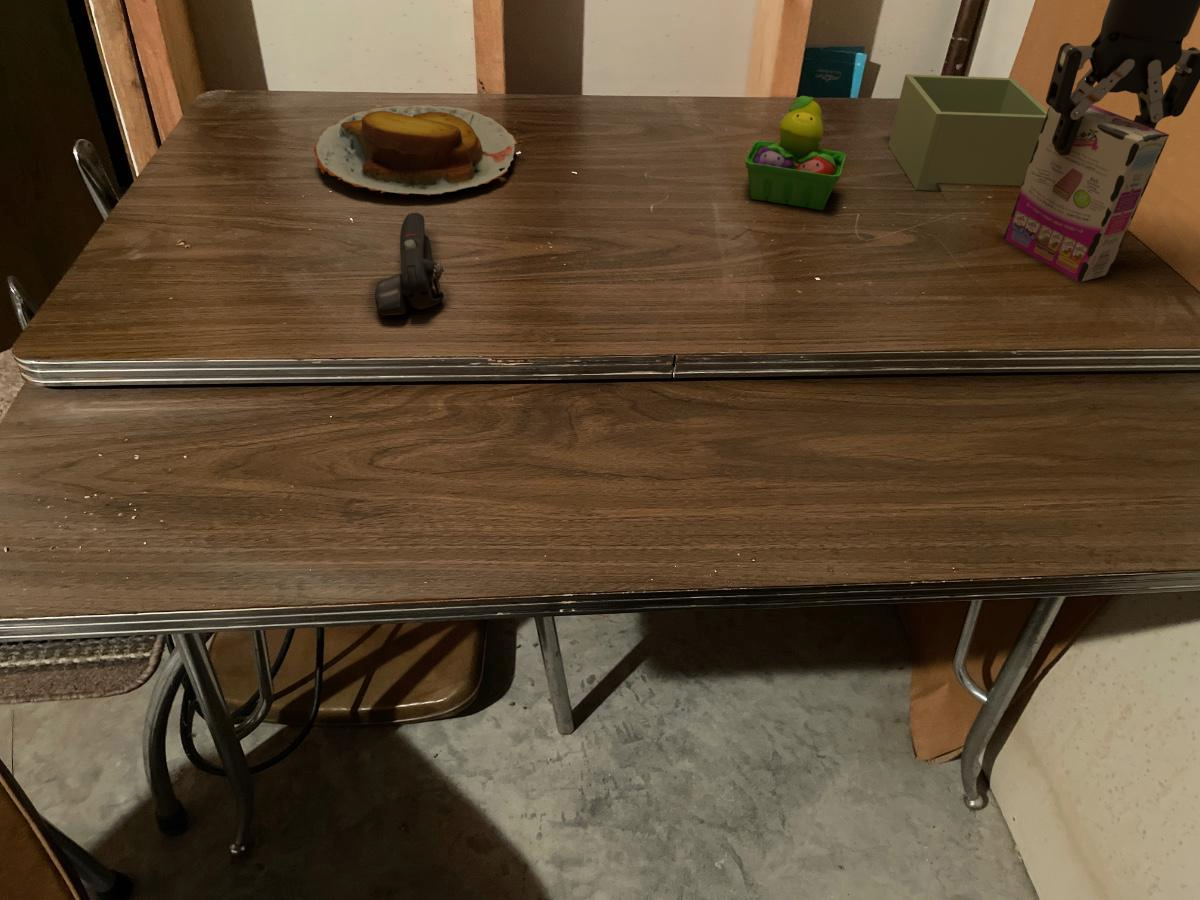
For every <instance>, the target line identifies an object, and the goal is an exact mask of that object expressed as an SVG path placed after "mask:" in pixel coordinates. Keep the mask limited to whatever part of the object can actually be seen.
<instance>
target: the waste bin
mask: <svg viewBox="0 0 1200 900" xmlns="http://www.w3.org/2000/svg"><path fill="white" fill-rule="evenodd" d="M898 100H899V101H898V104H897V108H896V112H895V117H894V119H893V120H894V121H893V124H892V128H891V132H890V137H889V141H888V145H887V147H888V149H889V150H890V152H891V153H892V155H893V156H894V158H895V159H896V161H897V162H898V164H899V166H900V167H901V169H902V170H903V172H904V173H905V175H906V176H907V179H908V180H909V181H910V183H911V184H912V186H913V188H914V190H915V191H931V192H932V191H934V192H943V190H942V188H941V186H940V185H939V184H956V185H957V184H959V185H985V186H987V185H989V186H1014V187H1015V186H1017V187H1022V184H1023V181H1024V178H1025V175H1026V172H1027V169H1028V167H1029V164H1030V161H1031V158H1032V155H1033V152H1034V149H1035V146H1036V144H1037V141H1038V138H1039V135H1040V132H1041V129H1042V126H1043V123H1044V120H1045V118H1046V114H1047V112H1048V109H1047V108H1046V107H1045V106H1044V105H1042V104H1041V103H1040V102H1039V100H1037V99H1036V98H1035V97H1034V96H1033V95H1032V94H1031V93H1030V92H1029V91H1028V90H1027V89H1026V88H1024V86H1022V85H1021V84H1020V83H1019V82H1018V81H1017V80H1016V79H1015V78H1013V77H993V76H992V77H990V76H988V77H987V76H985V77H984V76H966V75H965V76H963V75H962V76H961V75H935V74H907V73H906V74H905V75H904V79H903V83H902V87H901V92H900V95H899V99H898Z"/></svg>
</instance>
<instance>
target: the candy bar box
mask: <svg viewBox="0 0 1200 900" xmlns="http://www.w3.org/2000/svg"><path fill="white" fill-rule="evenodd" d="M1047 110H1048V112H1047V114H1046V118H1045V120H1044V123H1043V126H1042V129H1041V132H1040V135H1039V138H1038V141H1037V144H1036V146H1035V149H1034V152H1033V155H1032V158H1031V161H1030V164H1029V167H1028V169H1027V172H1026V175H1025V178H1024V181H1023V184H1022V186H1020V190H1019V193H1018V196H1017V199H1016V201H1015V204H1014V207H1013V210H1012V213H1011V216H1010V218H1009V221H1008V225H1007V227H1006V230H1005V233H1004V236H1003V240H1004V241H1006V242H1008V243H1009V244H1011V245H1013V246H1014V247H1017V248H1018V249H1020V250H1022V251H1023V252H1025V253H1027V254H1029V255H1030V256H1032V257H1034V258H1036V259H1038V260H1039V261H1041V262H1043V263H1045V264H1046V265H1048V266H1050V267H1052V268H1054V269H1055V270H1057V271H1060V272H1061V273H1062V274H1063V275H1066V276H1068V277H1070V278H1072V279H1074V280H1075V281H1077V282H1079V283H1083V282H1086V281H1090V280H1093V279H1097V278H1100V277H1104V276H1108V275H1109V274H1110V271H1111V269H1112V267H1113V265H1114V262H1115V260H1116V258H1117V255H1118V253H1119V251H1120V249H1121V247H1122V244H1123V242H1124V240H1125V237H1126V235H1127V233H1128V230H1129V228H1130V226H1131V224H1132V222H1133V218H1134V216H1135V215H1136V213H1137V209H1138V207H1139V204H1140V203H1141V201H1142V198H1143V196H1144V194H1145V191H1146V189H1147V187H1148V185H1149V182H1150V179H1151V177H1152V176H1153V172H1154V170H1155V169H1156V166H1157V164H1158V162H1159V159H1160V157H1161V154H1162V153H1163V150H1164V148H1165V146H1166V144H1167V142H1168V139H1169V137H1170V134H1169V133H1166V132H1164V131H1161V130H1158V129H1156V128H1155V129H1153V128H1151V127H1148V126H1146V125H1143V124H1141V123H1138V122H1136V121H1134V119H1130V118H1127V117H1125V116H1123V115H1119V114H1117V113H1114V112H1112V111H1109V110H1107V109H1104V108H1101V107H1098V106H1096V105H1094V104H1093V105H1092V106H1091V107H1090V108H1089V109H1088V110H1087V111H1086V112H1085V113H1084V114H1083V115H1082V116H1081V117H1080V118H1079V119H1080V120H1081V121H1082V122H1081V125H1080V127H1079V130H1078V133H1077V135H1076V138H1075V141H1074V143H1073V146H1072V149H1071V151H1070V154H1069V155H1068V156H1066V155H1059V154H1058V153H1057V152H1056V151H1055V146H1054V145H1053V144H1052V138H1053V136H1054V133H1055V130H1056V127H1057V125H1058V122H1059V119H1060V116H1061V113H1057V112H1056V111H1055V110H1054V109H1053V108H1052V107H1051V106H1049V105H1048V109H1047Z"/></svg>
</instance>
